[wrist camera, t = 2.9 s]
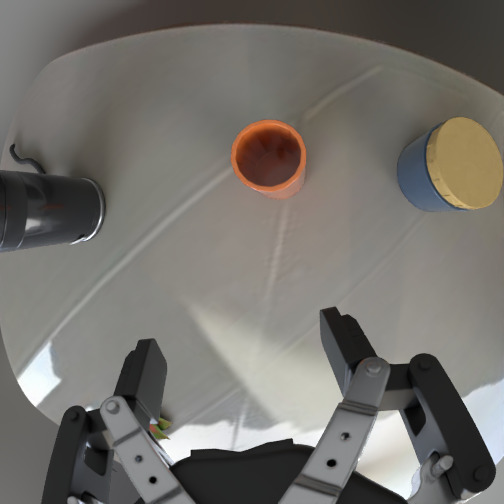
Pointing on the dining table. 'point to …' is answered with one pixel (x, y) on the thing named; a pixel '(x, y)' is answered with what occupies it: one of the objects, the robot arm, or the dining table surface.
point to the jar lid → (464, 163)
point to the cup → (270, 158)
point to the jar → (421, 178)
